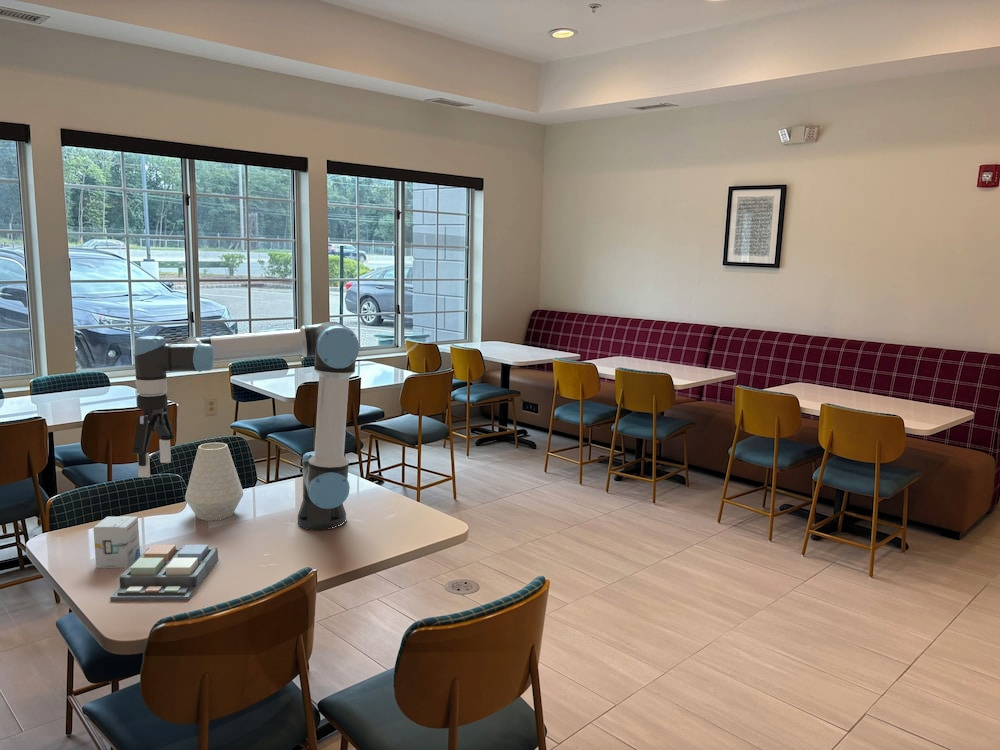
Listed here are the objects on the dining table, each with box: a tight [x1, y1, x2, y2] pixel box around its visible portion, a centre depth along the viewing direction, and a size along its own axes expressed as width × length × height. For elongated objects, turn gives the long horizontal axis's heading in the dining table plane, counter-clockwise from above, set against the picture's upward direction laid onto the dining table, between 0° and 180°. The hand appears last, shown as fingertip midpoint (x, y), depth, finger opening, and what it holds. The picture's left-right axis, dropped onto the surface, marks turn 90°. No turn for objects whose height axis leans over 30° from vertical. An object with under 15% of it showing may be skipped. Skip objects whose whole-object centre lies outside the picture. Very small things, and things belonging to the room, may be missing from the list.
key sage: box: [129, 557, 164, 575], centre depth 186 cm, size 6×6×2 cm
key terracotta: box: [143, 544, 177, 561], centre depth 195 cm, size 6×6×2 cm
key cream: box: [166, 558, 198, 575], centre depth 187 cm, size 6×6×2 cm
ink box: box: [93, 515, 141, 569], centre depth 197 cm, size 8×8×12 cm
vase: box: [184, 442, 244, 522], centre depth 233 cm, size 18×17×23 cm
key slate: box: [178, 544, 209, 561], centre depth 195 cm, size 6×6×2 cm
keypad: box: [109, 547, 219, 602], centre depth 189 cm, size 18×24×4 cm
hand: (155, 469), depth 199 cm, fingers open, 13 cm apart
